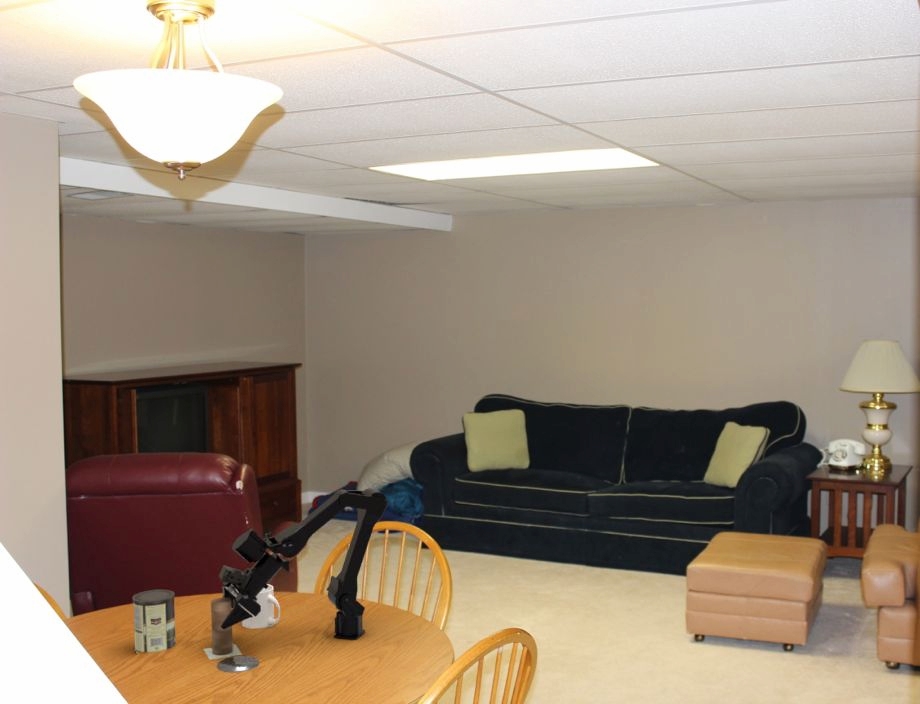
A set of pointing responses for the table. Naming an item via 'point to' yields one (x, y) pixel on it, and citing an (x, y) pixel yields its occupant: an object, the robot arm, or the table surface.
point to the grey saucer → (238, 664)
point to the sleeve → (220, 637)
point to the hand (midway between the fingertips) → (218, 622)
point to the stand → (213, 656)
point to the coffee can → (154, 620)
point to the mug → (264, 610)
